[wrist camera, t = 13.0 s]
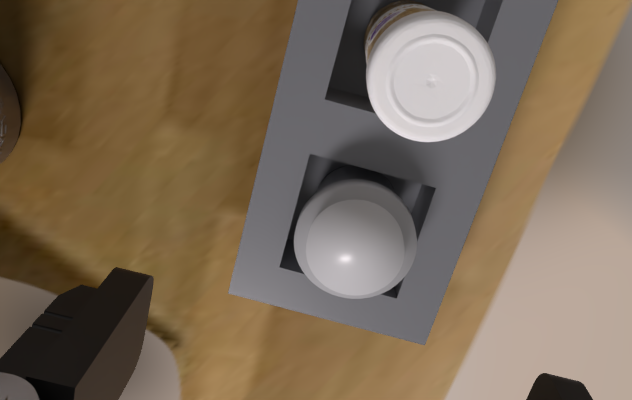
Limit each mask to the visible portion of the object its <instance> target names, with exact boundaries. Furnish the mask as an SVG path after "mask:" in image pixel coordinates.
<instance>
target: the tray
mask: <svg viewBox="0 0 632 400" xmlns="http://www.w3.org/2000/svg"><path fill="white" fill-rule="evenodd" d="M397 1H401V0H298V3H297V8H296V12H295V16H294V20H293V24H292V29H291V33H290V37H289V41H288V45H287V49H286V54H285V58H284V62H283V66H282V70H281V74H280V79H279V83H278V87H277V91H276V95H275V99H274V104H273V108H272V112H271V116H270V120H269V125H268V129H267V133H266V137H265V141H264V145H263V150H262V154H261V158H260V162H259V166H258V170H257V175H256V179H255V183H254V187H253V191H252V196H251V200H250V204H249V208H248V212H247V216H246V221H245V225H244V229H243V233H242V237H241V241H240V246H239V250H238V254H237V258H236V262H235V266H234V271H233V275H232V279H231V283H230V287H229V292H228V293H229V294H233V295H236V296H240V297H244V298H248V299H252V300H255V301H259V302H263V303H267V304H270V305H274V306H278V307H282V308H286V309H289V310H293V311H297V312H301V313H305V314H308V315H312V316H316V317H320V318H323V319H327V320H331V321H335V322H339V323H342V324H346V325H350V326H354V327H358V328H361V329H365V330H369V331H373V332H377V333H380V334H384V335H388V336H392V337H395V338H399V339H403V340H407V341H411V342H414V343H418V344H422V345H425V343H426V341H427V338H428V336H429V333H430V330H431V328H432V325H433V323H434V320H435V318H436V315H437V312H438V310H439V307H440V305H441V302H442V299H443V297H444V294H445V292H446V289H447V287H448V284H449V281H450V279H451V276H452V274H453V271H454V268H455V266H456V263H457V261H458V258H459V256H460V253H461V250H462V248H463V245H464V243H465V240H466V237H467V235H468V232H469V230H470V227H471V225H472V222H473V219H474V217H475V214H476V212H477V209H478V206H479V204H480V201H481V199H482V196H483V194H484V191H485V188H486V186H487V183H488V181H489V178H490V175H491V173H492V170H493V168H494V165H495V162H496V160H497V157H498V155H499V152H500V150H501V147H502V144H503V142H504V139H505V137H506V134H507V131H508V129H509V126H510V124H511V121H512V119H513V116H514V113H515V111H516V108H517V106H518V103H519V100H520V98H521V95H522V93H523V90H524V88H525V85H526V82H527V80H528V77H529V75H530V72H531V69H532V67H533V64H534V62H535V59H536V57H537V54H538V51H539V49H540V46H541V44H542V41H543V38H544V36H545V33H546V31H547V28H548V26H549V23H550V20H551V18H552V15H553V13H554V10H555V7H556V5H557V2H558V0H409V1H415V2H420V3H422V4H424V5H425V6H427V7H429V8H432V9H434V10H436V11H441V12H446V13H449V14H452V15H454V16H457V17H459V18H461V19H463V20H464V21H466V22H467V23H469V24H470V25H472V26H473V27H474V28H475V29H476V30H477V31H478V32H479V33H480V34H481V35H482V36H483V37H484V39H485V40H486V42H487V43H488V45H489V47H490V49H491V51H492V54H493V57H494V61H495V67H496V82H495V88H494V92H493V95H492V98H491V101H490V103H489V105H488V107H487V108H486V110H485V112H484V113H483V114H482V116H481V117H480V118H479V119H478V120H477V121H476V123H474V124H473V125H472V126H471V127H470V128H468V129H467V130H466V131H464V132H463V133H461V134H459V135H457V136H455V137H452V138H450V139H446V140H442V141H437V142H419V141H414V140H410V139H407V138H404V137H402V136H400V135H398V134H396V133H395V132H393V131H392V130H390V129H389V128H388V127H387V126H386V125H385V124H384V123H383V122H382V121H381V120H380V119H379V117H378V116H377V114H376V113H375V111H374V109H373V107H372V105H371V102H370V99H369V95H368V91H367V83H366V68H367V64H366V56H365V52H364V36H365V32H366V29H367V26H368V24H369V22H370V21H371V19H372V17H373V16H374V15H375V14H376V13H377V12H378V11H379V10H380V9H382V8H383V7H385V6H387V5H389V4H391V3H393V2H397Z"/></svg>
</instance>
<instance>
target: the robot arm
mask: <svg viewBox="0 0 632 400" xmlns="http://www.w3.org/2000/svg"><path fill="white" fill-rule="evenodd" d="M20 126H21V114H20V106H19V101H18V97H17V93H16V91H15V89H14V86H13V84H12V82H11V79H10V78H9V76H8V75H7V73H6V72H5V70H4V69H3V67H2V66H1V64H0V163H2V162H3V161H4V160H5V159H6V158H7V157H8V155H9V154H10V153H11V152H12V150H13V148H14V146H15V144H16V142H17V139H18V136H19V131H20ZM152 289H153V276H150V275H146V274H142V273H138V272H134V271H130V270H126V269H122V268H118V267H116V268H114V269H113V270H112V271H111V273H110V274H109V275H108V276H107V278H106V279H105V280H104V281H103V282H102V284H101V285H100V286H99V287H98V289H97V288H92V287H88V286H84V285H80V286H78V287H76V288H73V289H71V290H69V291H67V292H65V293H63V294H61V295H59V296H58V297H57V298H56V299H55V300H54V301H53V302H52V303H51V304H50V305H49V307H47V309H46V310H45V311H44V314H41V315H40V316H39V317H38V318H37V319H36V320H35V322H34V323H33V325H32V327H29V328H28V329H27V330H26V331H25V333H23V335H22V336H21V337H20V338H19V339H18V340H17V341H16V342H15V343H14V344H13V345H12V346H11V348H10V349H9V350H8V351H7V352H6V353H5V354H4V355H3V356H2V357H1V358H0V400H118V399H119V397H120V396H121V394H122V392H123V390H124V388H125V387H126V385H127V383H128V381H129V379H130V377H131V375H132V374H133V372H134V370H135V367H136V365H137V362H138V359H139V356H140V353H141V349H142V345H143V341H144V335H145V329H146V324H147V318H148V312H149V307H150V301H151V295H152ZM526 400H593V399H592V397H591V396H590V394H589V392H588V391H587V389H586V387H585V386H584V384H582V383H581V382H579V381H575V380H571V379H567V378H563V377H559V376H555V375H551V374H547V373H543V374H541V375H539V376H538V378H537V379H536V380H535V382H534V384H533V386H532V389H531V391H530V393H529V395H528V397H527V399H526Z"/></svg>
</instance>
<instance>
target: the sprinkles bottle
mask: <svg viewBox="0 0 632 400" xmlns="http://www.w3.org/2000/svg"><path fill="white" fill-rule="evenodd" d="M364 52H365V56H366V64H367V68H366V83H367V91H368V95H369V99H370V102H371V105H372V107H373V109H374V111H375V113H376V114H377V116H378V117H379V119H380V120H381V121H382V122H383V123H384V124H385V125H386V126H387V127H388V128H389V129H390V130H392V131H393V132H395V133H396V134H398V135H400V136H402V137H404V138H407V139H410V140H414V141H419V142H437V141H442V140H446V139H450V138H452V137H455V136H457V135H459V134H461V133H463V132H464V131H466V130H467V129H468V128H470V127H471V126H472V125H473V124H474V123H476V121H477V120H478V119H479V118H480V117H481V116H482V114H483V113H484V112H485V110H486V108H487V107H488V105H489V103H490V101H491V98H492V95H493V92H494V88H495V82H496V67H495V61H494V57H493V54H492V51H491V49H490V47H489V45H488V43H487V42H486V40H485V39H484V37H483V36H482V35H481V34H480V33H479V32H478V31H477V30H476V29H475V28H474V27H473V26H472V25H470V24H469V23H467V22H466V21H464V20H463V19H461V18H459V17H457V16H454V15H452V14H449V13H446V12H441V11H436V10H434V9H432V8H429V7H427V6H425V5H424V4H422V3H420V2H415V1H409V0H401V1H397V2H393V3H391V4H389V5H387V6H385V7H383V8H382V9H380V10H379V11H378V12H377V13H376V14H375V15H374V16H373V17H372V19H371V21H370V22H369V24H368V26H367V29H366V32H365V36H364Z"/></svg>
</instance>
